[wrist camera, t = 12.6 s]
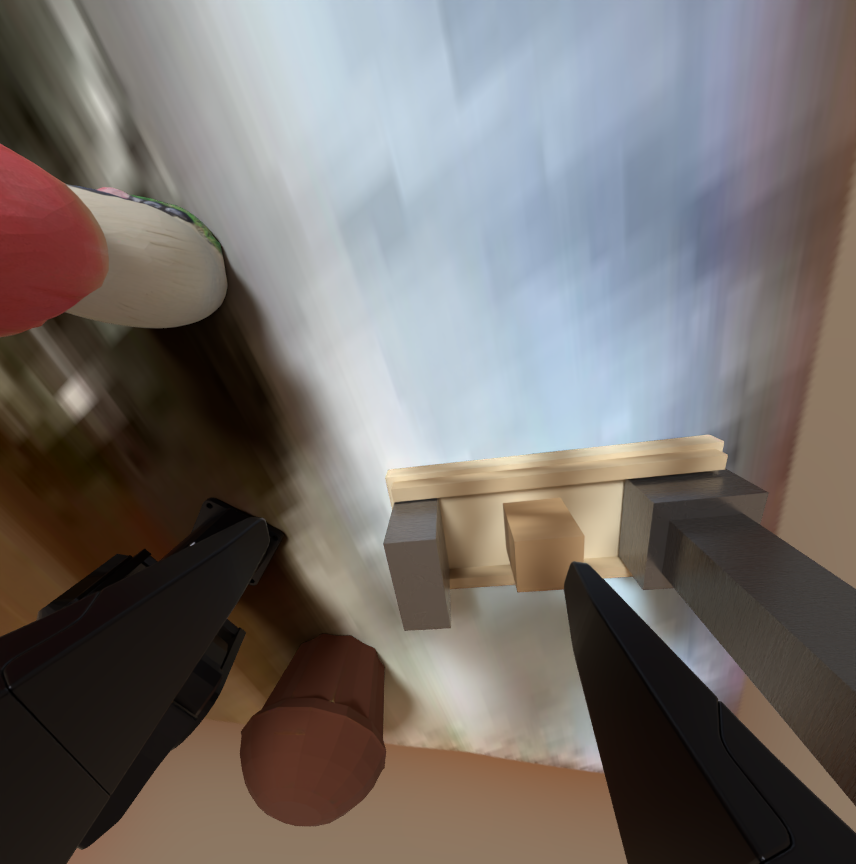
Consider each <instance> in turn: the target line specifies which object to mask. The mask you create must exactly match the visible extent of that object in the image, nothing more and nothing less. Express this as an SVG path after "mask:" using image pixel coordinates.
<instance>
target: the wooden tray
mask: <svg viewBox="0 0 856 864" xmlns="http://www.w3.org/2000/svg"><path fill="white" fill-rule="evenodd" d="M723 445H724V441H722V440H720V439H717V438H715V437H713V436H711V435H701V436H692V437H683V438H674V439H665V440H656V441H647V442H637V443H628V444H619V445H610V446H601V447H592V448H583V449H573V450H564V451H555V452H546V453H537V454H528V455H519V456H510V457H500V458H491V459H482V460H473V461H464V462H455V463H446V464H436V465H427V466H418V467H409V468H400V469H391V470H388V471H387V474H386V477H385V479H386V484H387V488H388V493H389V497H390V502H391V506H392V509H393V505H394V502H400V501H410V500H420V499H431V498H439V504H440V510H441V516H442V523H443V529H444V536H445V542H446V548H447V555H448V561H449V567H450V589H459V588H473V587H487V586H502V585H515V581H514V577H513V573H512V569H511V565H510V562H509V558H508V554H507V550H506V541H505V528H504V514H503V503H509V502H520V501H530V500H541V499H551V498H561V499H562V501H563V502H564V504H565V505H566V507H567V508H568V510H569V512H570V513H571V515H572V516H573V518H574V520H575V521H576V523H577V524H578V526H579V528H580V529H581V531H582V532H583V534H584V536H585V542H584V563H588V564H589V565H590V566H591V567H592V568H593V569H594V570H595V571H596V572H597V573H598V574H599V575H600V576H601V577H602V578H616V577H631V576H633V575H632V574H631V572H630V571H629V570H628V568H627V567H626V565H625V564H624V563H623V561H622V560H621V558H620V557H619V547H620V535H621V523H622V511H623V500H624V488H625V479H633V478H643V477H653V476H663V475H673V474H683V473H694V472H704V471H714V470H724V469H725V466H726V461H727V456H728V455H727V454H725V453H723V452H722V450H723Z"/></svg>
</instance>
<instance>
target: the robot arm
mask: <svg viewBox="0 0 856 864" xmlns="http://www.w3.org/2000/svg"><path fill="white" fill-rule="evenodd" d="M211 504H212V505H211ZM276 536H277V537H276ZM282 539H283V533H282V532H281V531H279V530H277V529H275V528H273V527H271V526H269V525H267V524H266V521H265V520H264V519H263V518H259V517H251V516H249V515H247V514H245V513H243V512H241V511H239V510H237V509H235V508H233V507H231V506H229V505H227V504H225V503H223V502H221V501H219V500H217V499H215V498H208V499H207V500H206V501H205V502H204V503H203V505H202V508H201V510H200V513H199V515H198V518H197V520H196V523H195V525H194V528H193V530H192V532H191V534H190V535H189V536H187V537H186V538H185V539H184V540H183V541H182V542H181V543H179V544H178V545H177V546H176V547H175V548H174V549H173V550H171V551H170V552H169V553H168V554H167V555H166V556H164V557H163V558H162V559H161V560H160V561H159V562H157V561H156V560H155V559H154V558H153V557H151V556H150V555H151V553H149V552H148V551H147V550H146V549H143V550H142V551H141V552H139V553H138V554H136V555H135V556H134V557H132V556H131V555H129V556H126V555H120V554H116V555H115V556H114V557H112V558H111V559H110V560H108V561H107V562H105V563H104V564H103V565H101V566H100V567H99V568H97V569H96V570H95V571H93V572H92V573H91V574H89V575H88V576H86V577H85V578H84V579H82V580H81V581H80V582H78V583H77V584H76V585H74V586H73V587H71V588H70V589H69V590H67V591H66V592H65V593H63V594H62V595H60V596H59V597H58V598H56V599H55V600H54V601H52V602H51V603H50V604H48V605H47V606H46V607H44V608H43V609H41V610H40V611H39V612H38V616H37V620H36V621H35V622H32V623H30V624H28V625H26V626H23V627H21V628H19V629H17V630H15V631H12V632H10V633H8V634H6V635H3V636H1V637H0V864H67V862H68V861H69V859H70V858H71V856H72V855H73V853H74V851H75V850H76V848H79V849H81V850H82V849H85V848H87V847H88V846H90V845H91V844H92V843H94V842H95V841H96V840H97V839H98V838H100V837H101V836H102V835H103V834H104V833H105V832H107V831H108V830H109V829H110V828H111V827H112V826H114V824H116V823H117V822H118V821H119V820H120V819H121V818H122V816H123V815H124V814H125V812H126V811H127V809H128V808H129V806H130V805H131V804H132V802H133V801H134V799H135V798H136V797H137V795H138V794H139V792H140V791H141V789H142V788H143V786H144V785H145V784H146V782H147V781H148V780H149V778H150V777H151V775H152V774H153V773H154V771H155V770H156V768H157V767H158V766H159V765H160V763H161V762H162V761H163V760H164V758H165V757H166V756H167V754H168V753H169V752H170V751H171V750H173V749H174V748H176V747H177V746H178V745H180V744H181V743H182V742H183V741H184V740H185V739H186V738H187V737H188V736H189V735H190V734H191V733H192V732H193V731H194V730H195V728H196V727H197V726H198V725H199V724H200V722H201V721H202V720H203V719H204V717H205V716H206V715H207V713H208V712H209V710H210V709H211V708H212V706H213V705H214V703H215V701H216V700H217V698H218V696H219V695H220V693H221V690H222V688H223V686H224V684H225V682H226V679H227V677H228V674H229V672H230V670H231V667H232V665H233V662H234V660H235V658H236V655H237V653H238V651H239V648H240V646H241V643H242V641H243V639H244V636H245V634H246V632H245V631H244V630H243V629H241V628H238V627H236V626H235V625H234V624H233V623H231V622H230V621H229V620H228V619H227V618H228V616H229V614H230V613H231V611H232V610H233V608H234V607H235V605H236V604H237V602H238V601H239V599H240V597H241V596H242V594H243V592H244V591H245V589H246V587H247V585H248V584H249V585H256V584H257V583H258V582H259V580H260V579H261V577H262V575H263V573H264V571H265V569H266V568H267V566H268V564H269V562H270V560H271V559H272V557H273V555H274V553H275V551H276V549H277V548H278V546H279V544H280V542H281V540H282ZM564 593H565V600H566V606H567V613H568V620H569V626H570V633H571V640H572V646H573V651H574V656H575V660H576V664H577V668H578V672H579V676H580V680H581V683H582V687H583V691H584V695H585V699H586V703H587V707H588V711H589V715H590V719H591V723H592V726H593V730H594V734H595V738H596V742H597V746H598V750H599V754H600V758H601V762H602V765H603V769H604V773H605V777H606V781H607V785H608V789H609V793H610V796H611V800H612V804H613V808H614V812H615V816H616V820H617V823H618V828H619V832H620V836H621V839H622V843H623V847H624V851H625V855H626V859H627V863H628V864H856V833H855V832H854V831H853V830H852V829H851V828H850V827H849V826H848V825H847V824H846V823H844V822H843V821H842V820H841V819H840V818H839V817H838V816H837V815H836V814H835V813H834V812H833V811H832V810H831V809H830V808H829V807H828V806H827V805H826V804H824V803H823V802H822V801H821V800H820V799H819V798H818V797H817V796H816V795H815V794H814V793H813V792H812V791H811V790H810V789H808V788H807V787H806V785H804V784H803V783H802V782H801V781H800V780H799V779H798V778H797V777H796V776H795V775H794V774H793V773H792V772H791V771H790V770H789V769H788V768H787V767H786V766H785V765H784V764H783V763H781V761H780V760H778V759H777V758H776V757H775V756H774V755H773V754H772V753H771V752H770V751H769V750H768V749H767V748H766V747H765V746H764V745H763V744H762V743H761V742H760V741H759V740H758V739H757V737H755V736H754V735H753V733H752V732H751V731H750V730H749V729H748V728H747V727H746V726H745V725H744V724H743V723H742V722H741V721H740V720H739V719H738V718H737V717H736V716H735V715H734V714H733V713H732V712H731V711H730V710H729V709H728V708H727V707H726V706H725V705H724V704H723V703H722V702H721V701H718V698H717V697H716V696H715V694H714V693H713V692H712V691H711V690H710V689H709V688H708V687H707V686H706V685H705V684H704V683H703V682H702V681H701V680H700V679H699V678H698V677H697V676H696V675H695V674H694V673H693V672H692V671H691V670H690V669H689V667H688V666H687V665H686V664H685V663H684V662H683V661H682V660H681V659H680V658H679V657H678V656H677V655H676V654H675V653H674V652H673V651H672V650H671V649H670V648H669V647H668V646H667V645H666V644H665V643H664V641H663V640H662V639H661V638H660V637H659V636H658V635H657V634H656V633H655V632H654V631H653V630H652V629H651V628H650V627H649V626H648V625H647V624H646V623H645V622H644V621H643V620H642V619H641V618H640V617H639V616H638V614H637V613H636V612H635V611H634V610H633V609H632V608H631V607H630V606H629V605H628V604H627V603H626V602H625V601H624V600H623V599H622V598H621V597H620V596H619V595H618V594H617V593H616V592H615V591H614V590H613V588H612V587H611V586H610V585H609V584H608V583H607V582H606V581H605V580H604V579H603V578H602V577H601V576H600V575H599V574H598V573H597V572H596V571H595V570H594V569H593V568H592V567H591V566H590V565H589V564H588V563H583V562H576V561H573V562H571V564H570V566H569V569H568V572H567V575H566V579H565V582H564Z"/></svg>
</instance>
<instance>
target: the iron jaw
mask: <svg viewBox="0 0 856 864" xmlns="http://www.w3.org/2000/svg"><path fill="white" fill-rule="evenodd" d="M383 544H384V549H385V553H386V557H387V561H388V565H389V569H390V573H391V577H392V581H393V586H394V590H395V594H396V598H397V602H398V606H399V610H400V614H401V618H402V622H403V627H404V631H408V630H426V629H443V628H451V614H450V567H449V561H448V555H447V548H446V542H445V536H444V529H443V523H442V516H441V510H440V504H439V498H431V499H420V500H410V501H400V502H394V505H393V509H392V513H391V517H390V520H389V524H388V528H387V532H386V535H385V539H384V543H383Z"/></svg>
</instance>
